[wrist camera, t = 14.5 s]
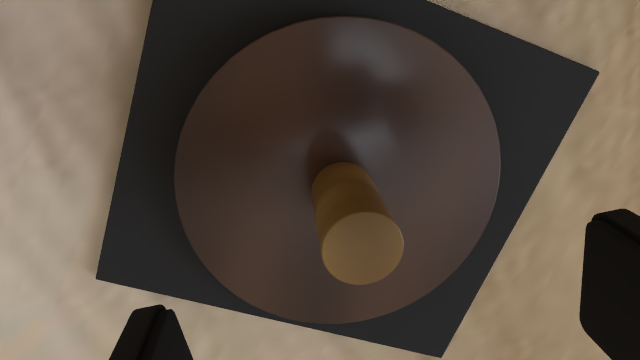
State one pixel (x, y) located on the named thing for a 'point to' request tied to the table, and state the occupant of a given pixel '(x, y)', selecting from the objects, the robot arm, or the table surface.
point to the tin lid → (337, 169)
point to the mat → (253, 23)
